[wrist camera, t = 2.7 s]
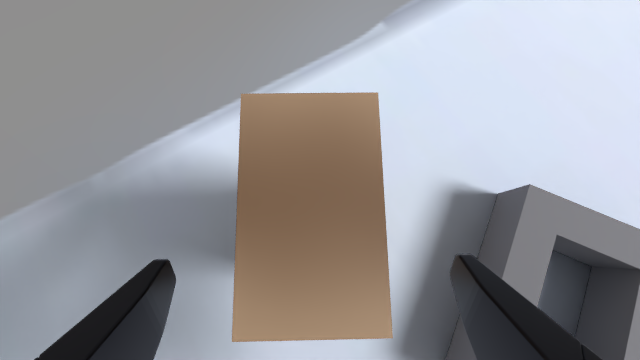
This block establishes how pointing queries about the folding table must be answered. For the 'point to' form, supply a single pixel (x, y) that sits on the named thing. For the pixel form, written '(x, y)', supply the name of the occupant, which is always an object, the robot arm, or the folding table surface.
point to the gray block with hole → (575, 242)
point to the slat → (310, 219)
